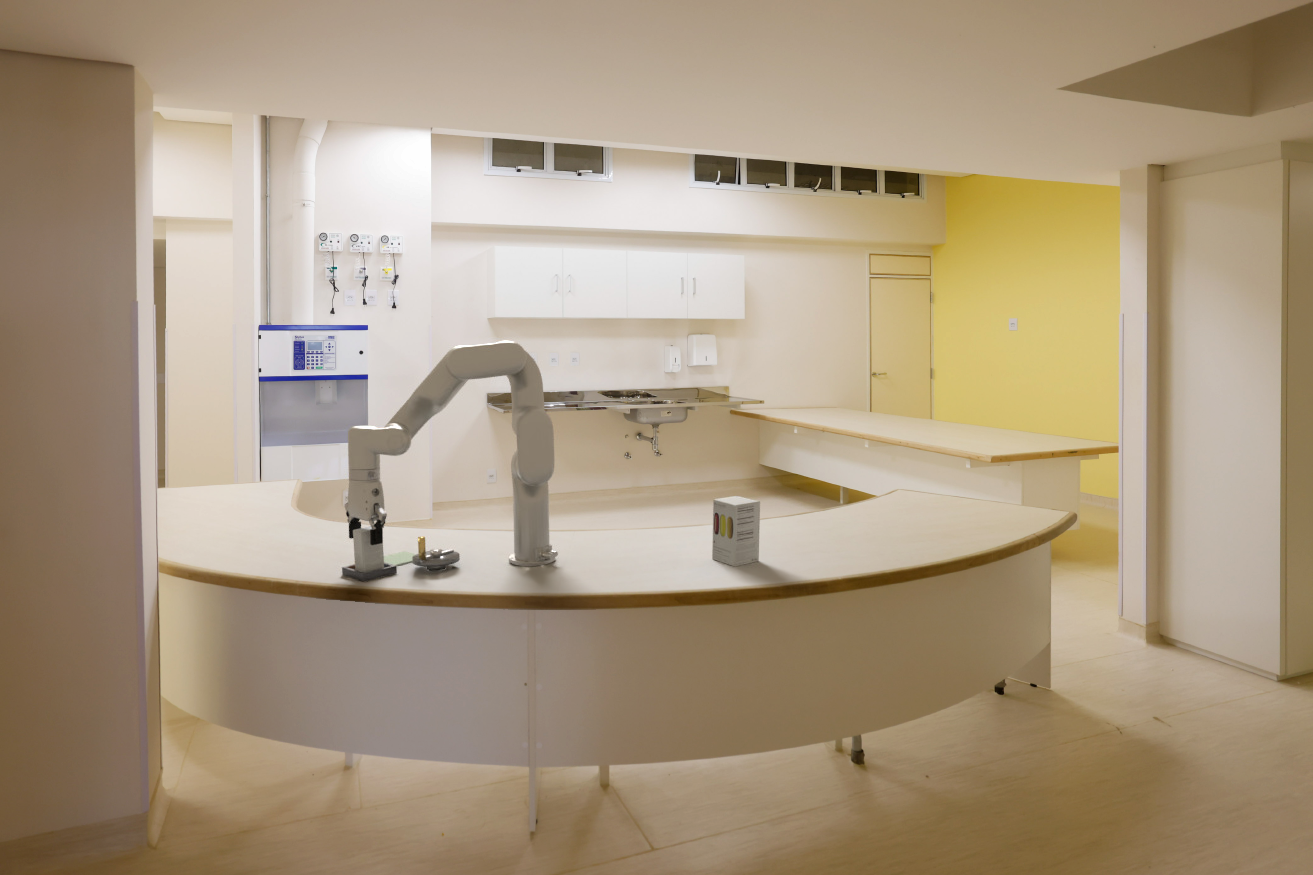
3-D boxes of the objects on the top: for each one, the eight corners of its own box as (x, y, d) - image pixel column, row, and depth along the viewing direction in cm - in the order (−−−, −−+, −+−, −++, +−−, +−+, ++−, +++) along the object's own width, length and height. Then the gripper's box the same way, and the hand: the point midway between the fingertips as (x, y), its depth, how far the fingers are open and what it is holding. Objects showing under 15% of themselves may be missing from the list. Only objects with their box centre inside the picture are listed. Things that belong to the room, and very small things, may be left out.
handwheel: (438, 552, 225) (438, 526, 224) (469, 558, 218) (468, 532, 217) (402, 561, 215) (401, 535, 214) (433, 569, 209) (432, 541, 208)
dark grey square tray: (396, 573, 213) (396, 565, 212) (363, 581, 205) (362, 574, 205) (375, 566, 219) (375, 559, 218) (342, 574, 211) (342, 567, 211)
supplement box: (711, 559, 226) (711, 498, 224) (735, 553, 231) (736, 494, 229) (734, 567, 218) (735, 504, 216) (760, 561, 224) (761, 500, 222)
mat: (426, 558, 226) (426, 557, 226) (394, 566, 219) (394, 565, 219) (404, 552, 233) (404, 551, 233) (373, 560, 225) (373, 558, 225)
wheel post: (450, 567, 217) (449, 560, 217) (434, 572, 214) (434, 564, 213) (438, 564, 221) (438, 557, 220) (422, 568, 217) (422, 561, 216)
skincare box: (375, 570, 216) (373, 525, 214) (384, 573, 213) (382, 527, 211) (354, 575, 211) (352, 529, 209) (363, 578, 208) (361, 532, 207)
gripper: (397, 477, 206) (398, 544, 208) (359, 469, 217) (360, 532, 219) (370, 480, 200) (371, 549, 202) (332, 472, 211) (333, 537, 213)
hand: (365, 540), depth 211 cm, fingers open, 9 cm apart
